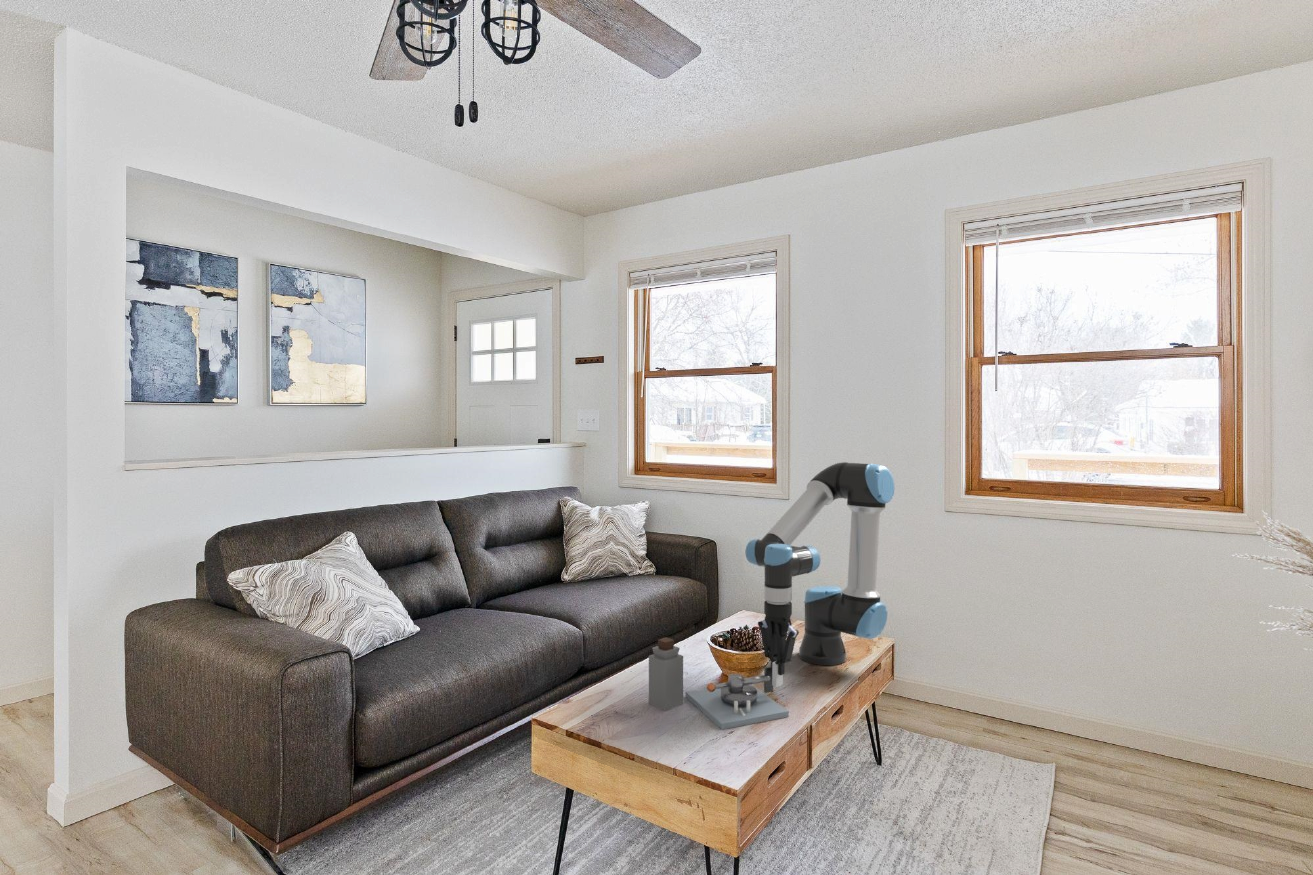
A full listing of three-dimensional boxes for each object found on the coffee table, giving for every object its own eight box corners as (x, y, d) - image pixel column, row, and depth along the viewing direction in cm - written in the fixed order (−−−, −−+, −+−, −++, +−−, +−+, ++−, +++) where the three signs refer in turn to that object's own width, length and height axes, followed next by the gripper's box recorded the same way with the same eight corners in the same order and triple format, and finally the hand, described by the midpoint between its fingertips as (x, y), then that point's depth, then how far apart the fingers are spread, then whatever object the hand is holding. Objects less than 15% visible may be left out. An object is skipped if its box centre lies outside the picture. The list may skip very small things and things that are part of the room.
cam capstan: (715, 710, 185) (715, 683, 185) (699, 696, 195) (699, 670, 194) (781, 698, 193) (782, 672, 193) (763, 685, 202) (763, 660, 202)
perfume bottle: (665, 696, 200) (665, 634, 199) (683, 703, 195) (683, 639, 195) (648, 703, 195) (648, 639, 195) (666, 711, 191) (666, 645, 190)
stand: (747, 686, 207) (747, 671, 207) (788, 716, 187) (788, 699, 187) (685, 696, 200) (685, 681, 200) (721, 729, 179) (721, 712, 179)
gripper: (805, 603, 191) (804, 688, 192) (769, 593, 201) (768, 674, 202) (787, 608, 187) (787, 695, 188) (751, 598, 197) (750, 681, 198)
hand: (777, 684), depth 195 cm, fingers closed
